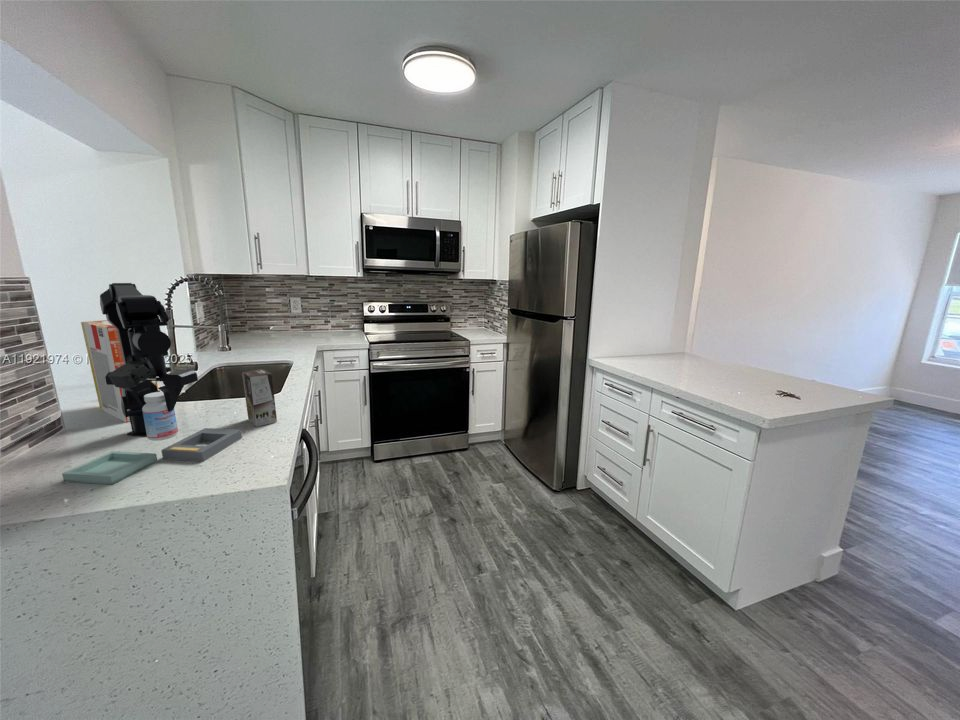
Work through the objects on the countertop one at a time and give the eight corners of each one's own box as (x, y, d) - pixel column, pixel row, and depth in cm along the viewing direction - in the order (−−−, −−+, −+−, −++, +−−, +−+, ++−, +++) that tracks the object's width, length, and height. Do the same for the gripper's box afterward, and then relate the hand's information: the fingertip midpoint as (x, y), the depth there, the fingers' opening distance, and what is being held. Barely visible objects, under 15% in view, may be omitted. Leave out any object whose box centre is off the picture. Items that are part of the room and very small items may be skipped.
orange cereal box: (158, 414, 125) (141, 325, 118) (126, 422, 118) (106, 327, 112) (130, 402, 136) (113, 319, 130) (100, 408, 130) (80, 322, 123)
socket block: (163, 459, 96) (161, 449, 95) (206, 436, 110) (204, 427, 109) (203, 461, 95) (201, 451, 95) (242, 438, 109) (240, 429, 108)
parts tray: (64, 481, 85) (61, 473, 85) (113, 458, 96) (112, 451, 96) (112, 484, 84) (111, 476, 84) (157, 460, 95) (156, 453, 95)
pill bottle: (162, 442, 92) (153, 399, 90) (141, 440, 93) (132, 397, 91) (184, 432, 98) (177, 391, 96) (165, 430, 99) (157, 389, 97)
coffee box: (278, 422, 121) (272, 373, 117) (255, 427, 116) (249, 377, 113) (269, 414, 127) (263, 368, 123) (247, 419, 123) (241, 371, 119)
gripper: (73, 355, 83) (89, 421, 87) (154, 357, 82) (166, 424, 86) (122, 345, 94) (134, 404, 98) (194, 347, 93) (204, 407, 97)
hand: (158, 410), depth 94 cm, fingers closed on pill bottle, 6 cm apart
